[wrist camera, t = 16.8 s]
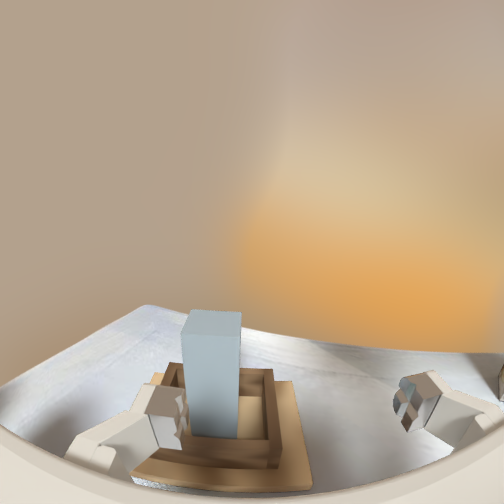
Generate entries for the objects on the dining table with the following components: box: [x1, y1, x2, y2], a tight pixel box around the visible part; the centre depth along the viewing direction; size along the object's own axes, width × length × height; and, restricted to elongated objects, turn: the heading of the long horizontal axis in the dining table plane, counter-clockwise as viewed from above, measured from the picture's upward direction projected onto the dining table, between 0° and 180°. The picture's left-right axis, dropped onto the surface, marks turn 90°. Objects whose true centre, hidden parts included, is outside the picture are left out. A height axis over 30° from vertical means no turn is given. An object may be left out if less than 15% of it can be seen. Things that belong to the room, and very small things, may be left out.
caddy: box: [129, 362, 313, 493], centre depth 27 cm, size 20×18×6 cm
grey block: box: [181, 309, 242, 439], centre depth 26 cm, size 5×5×14 cm
